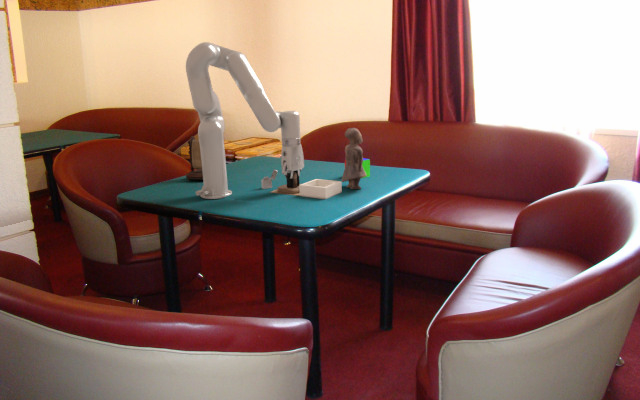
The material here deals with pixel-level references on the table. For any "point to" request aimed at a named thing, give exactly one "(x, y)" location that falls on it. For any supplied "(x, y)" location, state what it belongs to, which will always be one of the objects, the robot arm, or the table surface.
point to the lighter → (268, 180)
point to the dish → (320, 188)
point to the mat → (283, 193)
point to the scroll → (195, 160)
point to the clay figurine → (353, 159)
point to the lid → (290, 190)
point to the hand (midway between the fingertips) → (293, 186)
